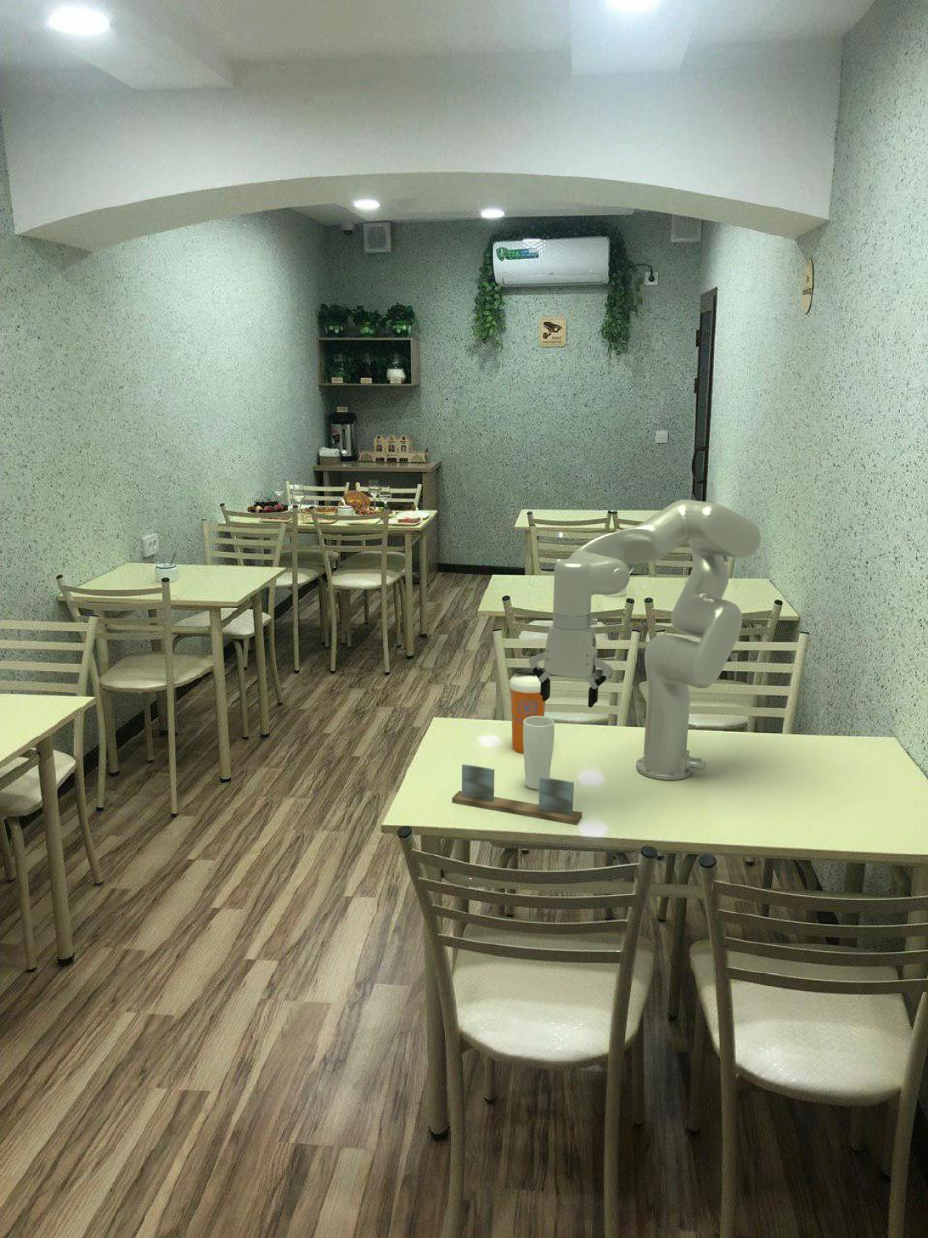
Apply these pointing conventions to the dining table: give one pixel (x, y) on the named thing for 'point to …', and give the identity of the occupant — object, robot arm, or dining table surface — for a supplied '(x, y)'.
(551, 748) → the drinking glass
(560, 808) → the stand
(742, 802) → the dining table surface
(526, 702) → the shaker bottle
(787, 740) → the dining table surface
